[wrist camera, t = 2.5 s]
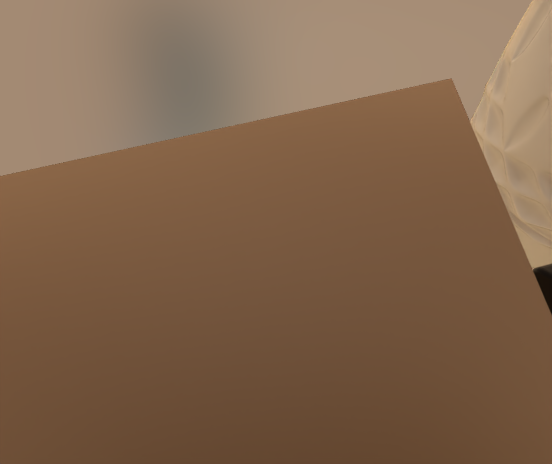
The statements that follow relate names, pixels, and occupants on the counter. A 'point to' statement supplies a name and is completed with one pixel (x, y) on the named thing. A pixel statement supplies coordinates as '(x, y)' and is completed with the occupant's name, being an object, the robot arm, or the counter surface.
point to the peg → (275, 298)
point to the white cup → (522, 130)
